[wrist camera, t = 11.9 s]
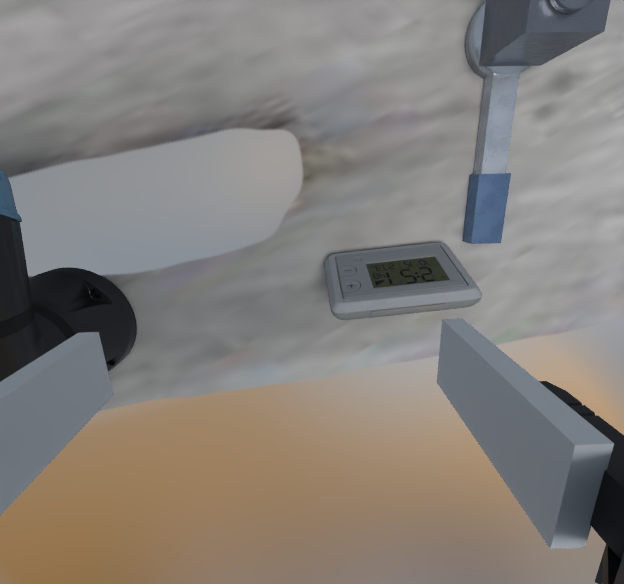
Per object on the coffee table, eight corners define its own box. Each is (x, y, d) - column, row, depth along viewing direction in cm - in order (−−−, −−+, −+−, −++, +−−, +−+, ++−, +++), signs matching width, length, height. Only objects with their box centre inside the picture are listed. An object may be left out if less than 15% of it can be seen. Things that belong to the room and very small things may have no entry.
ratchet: (445, 241, 43) (464, 248, 38) (469, -5, 36) (497, -38, 30) (507, 239, 43) (535, 246, 38) (544, -6, 36) (585, -40, 30)
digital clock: (451, 242, 43) (495, 258, 33) (437, 308, 46) (474, 341, 36) (326, 231, 43) (332, 243, 33) (320, 298, 45) (323, 329, 35)
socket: (478, 66, 35) (533, 27, 27) (486, -9, 33) (548, -78, 25) (540, 65, 35) (614, 25, 27) (552, -10, 33) (636, -79, 25)
